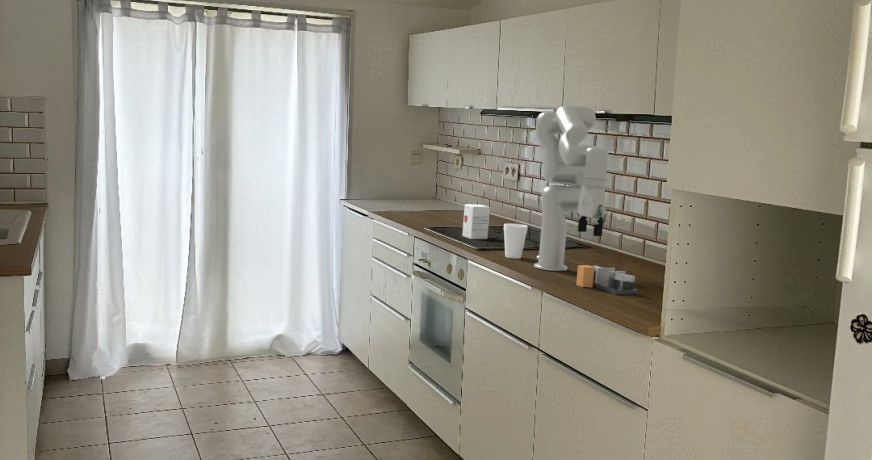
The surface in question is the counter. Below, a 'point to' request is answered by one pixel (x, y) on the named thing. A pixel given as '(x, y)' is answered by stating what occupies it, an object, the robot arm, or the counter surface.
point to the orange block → (585, 276)
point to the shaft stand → (613, 281)
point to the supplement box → (476, 221)
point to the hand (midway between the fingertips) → (589, 233)
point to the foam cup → (514, 239)
